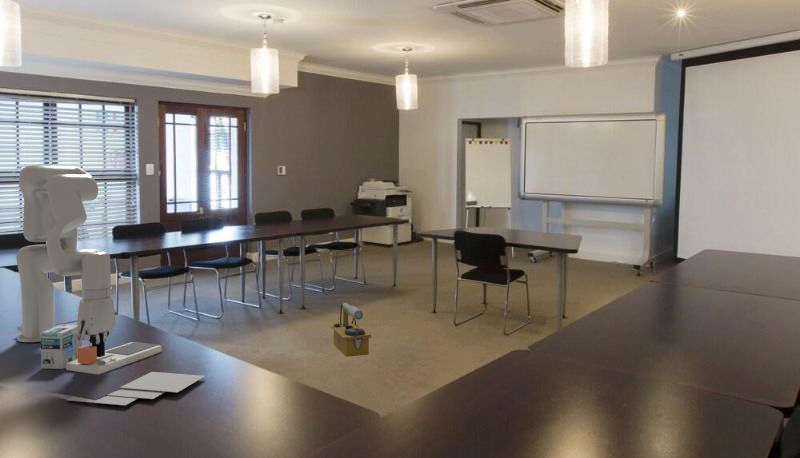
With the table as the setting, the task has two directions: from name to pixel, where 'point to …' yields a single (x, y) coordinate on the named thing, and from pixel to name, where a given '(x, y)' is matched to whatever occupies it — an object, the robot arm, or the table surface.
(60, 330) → the light bulb box
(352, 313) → the geiger counter
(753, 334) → the table surface
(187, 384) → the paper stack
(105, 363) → the panel
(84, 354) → the handle
